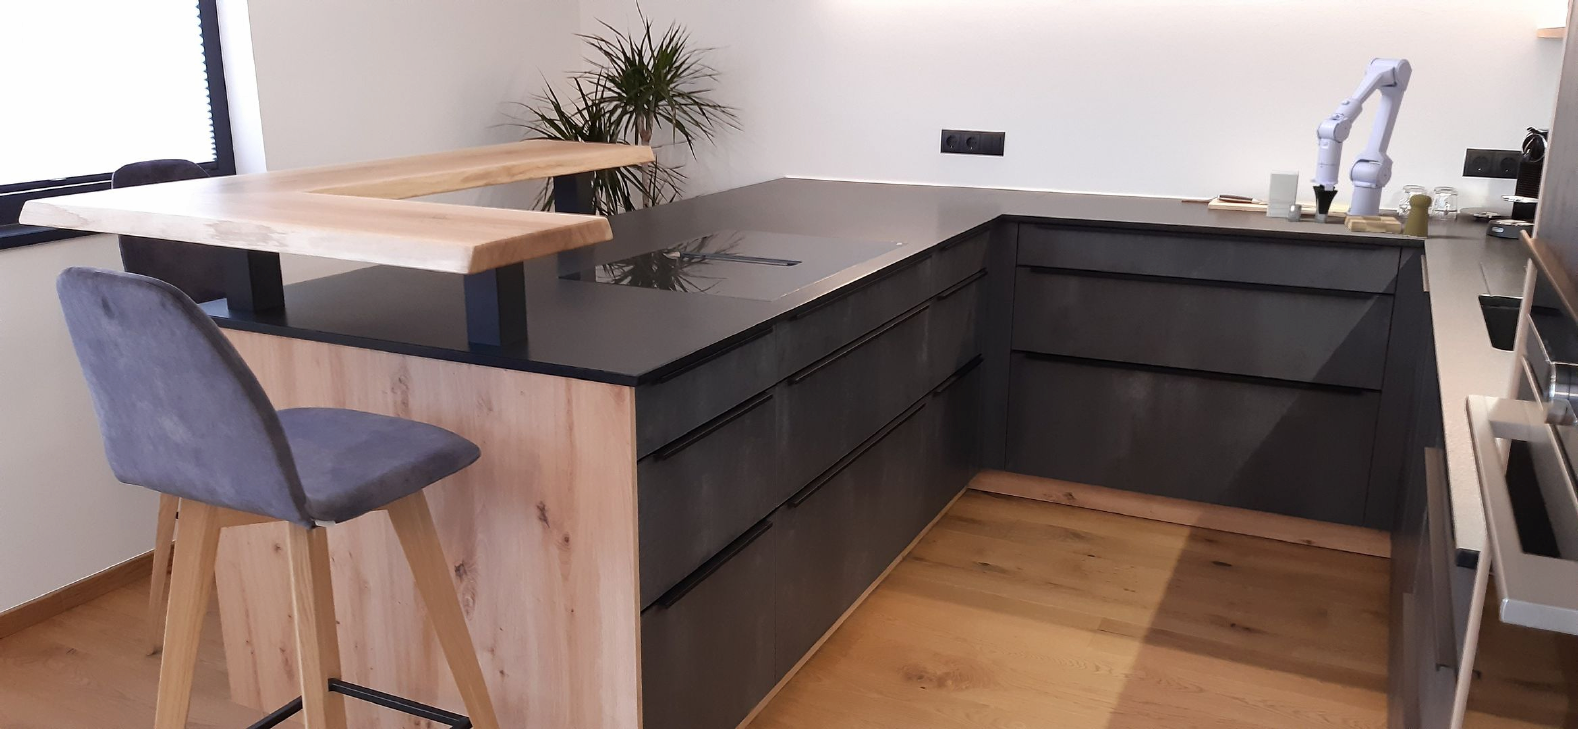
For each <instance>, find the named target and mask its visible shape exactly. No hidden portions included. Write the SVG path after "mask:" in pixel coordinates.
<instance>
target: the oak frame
mask: <svg viewBox="0 0 1578 729" xmlns="http://www.w3.org/2000/svg"><path fill="white" fill-rule="evenodd" d="M1344 225H1345V227H1346V228H1348V230H1349V229H1350V230H1349V231H1350V232H1352V231H1371V232H1370V233H1372V232H1392V233H1400V234H1401V229H1402V223H1401V221H1399V220H1398V219H1396V218H1395V217H1394V216H1383V215H1382V216H1380V215H1379V216H1363V215H1348V214H1345V217H1344Z"/></svg>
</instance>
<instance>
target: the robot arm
mask: <svg viewBox="0 0 1578 729" xmlns="http://www.w3.org/2000/svg"><path fill="white" fill-rule="evenodd" d="M1412 72H1413V69H1412V66H1411V63H1410V62H1409V60H1408V59H1405V58H1401V59H1397V58H1380V57H1375V58H1372V59H1371V60H1370V61H1369V63H1368V65H1367V66H1366V67H1365V72H1364V73H1365V74H1364V75H1365V76H1364V78H1363V79H1362V81H1361V82H1360V84H1359V85H1358V87H1357V88H1356V90H1355V91H1354V93H1353V94H1352V96H1351V97H1349V98H1344V99H1343V100H1342V102H1340V104H1339V106H1338V107H1337V108H1336V109H1335V110H1334V111H1333V113H1332V114H1331V115H1330V117H1329V118H1328V119H1324V120H1323V121H1321V122H1320V123H1319V125H1318V127H1317V129H1316V137H1317V140H1318V141H1317V145H1318V147H1319V149H1318V156H1317V163H1316V170H1315V178H1311V179H1310V180H1309V181H1310V182H1311V183H1315V184H1318V185H1313V186H1312V189H1313V191H1314V195H1315V196H1314V197H1315V207H1316V206H1317V199H1318V212H1319V214H1325V215H1327V213H1328V214H1329V211H1330V209H1331V205H1332V203H1333V200H1334V199H1335V197H1336V195H1337V194H1338V193H1339V190H1338V189H1336V185H1338V184H1339V174H1340V173H1339V172H1340V167H1341V158H1342V152H1343V144H1344V141H1346V140H1347V139H1348V138H1349V135H1350V132H1351V129H1353V128H1352V126H1353V125H1352V124H1353V123H1354V122H1355V121H1356V119H1358V117H1359V116H1360V115H1361V114H1362V112H1363V108H1364V107H1363V104H1364V103H1365V102H1366V101H1367V100H1368V99H1369V98H1370V96H1372V94H1374V92H1375V91H1376V90H1377V91H1380V94H1381V98H1380V102H1379V104H1378V107H1377V108H1378V109H1377V112H1376V115H1375V117H1374V121H1373V125H1372V128H1371V132H1370V134H1369V138H1368V141H1367V145H1366V148H1365V150H1363V151H1362V152H1360V153H1358V154H1357V155H1356V156H1355V160H1354V161H1353V163H1352V165H1351V166H1350V168H1349V171H1348V172H1349V173H1348V175H1349V176H1348V177H1349V179H1350V181H1351V182H1352V183H1351V184H1352V186H1354V187H1353V191H1352V196H1351V202H1350V203H1351V204H1350V208H1349V211H1346V212H1345V213H1346V215H1363V216H1380V215H1379V213H1380V212H1379V211H1380V205H1381V200H1382V199H1381V198H1382V190H1383V188H1385V187H1386V185H1388V183H1389V182H1390V180H1391V178H1392V174H1393V173H1392V168H1393V163H1394V161H1393V160H1392V159H1391V158H1390V156H1389V155H1388V154H1387V150H1388V148H1389V145H1390V141H1391V138H1392V135H1393V131H1394V128H1395V125H1396V121H1397V118H1398V114H1399V112H1400V108H1401V105H1402V101H1403V98H1404V94H1405V92H1406V91H1407V89H1408V86H1409V82H1410V78H1411V75H1412Z"/></svg>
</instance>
